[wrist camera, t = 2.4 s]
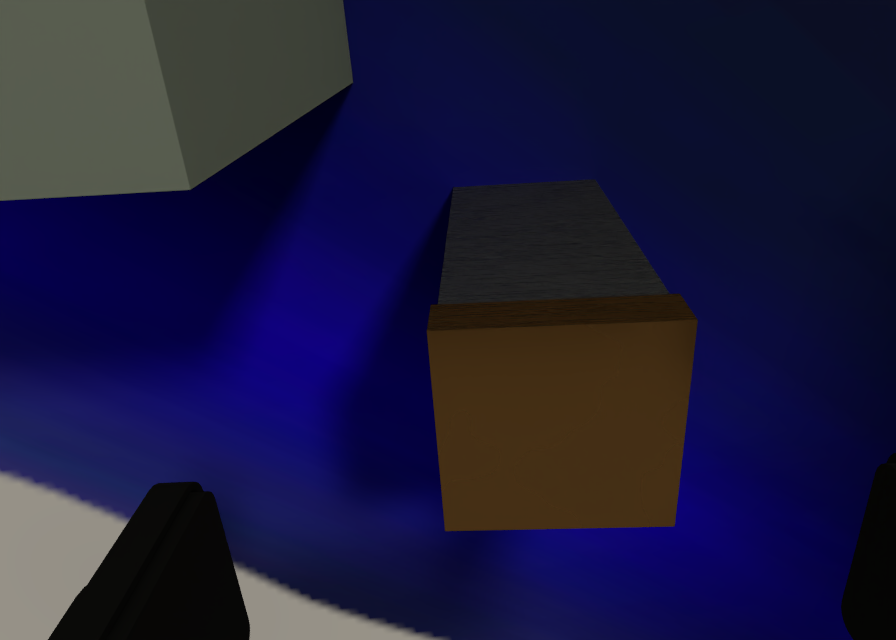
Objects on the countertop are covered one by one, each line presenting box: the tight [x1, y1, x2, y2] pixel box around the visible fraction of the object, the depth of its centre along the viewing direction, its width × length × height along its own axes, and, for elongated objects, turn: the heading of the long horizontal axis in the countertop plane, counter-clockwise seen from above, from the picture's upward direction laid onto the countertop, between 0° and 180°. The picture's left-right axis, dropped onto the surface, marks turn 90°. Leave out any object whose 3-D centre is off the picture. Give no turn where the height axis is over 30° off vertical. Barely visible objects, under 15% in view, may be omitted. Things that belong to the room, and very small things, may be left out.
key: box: [427, 179, 698, 531], centre depth 15 cm, size 4×4×9 cm
